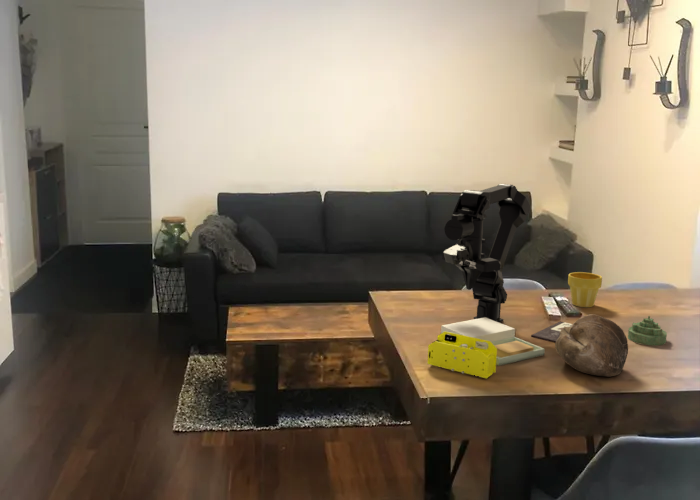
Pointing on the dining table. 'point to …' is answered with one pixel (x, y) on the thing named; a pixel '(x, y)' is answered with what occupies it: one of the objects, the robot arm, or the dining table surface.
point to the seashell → (593, 346)
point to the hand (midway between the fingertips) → (469, 289)
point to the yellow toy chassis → (463, 354)
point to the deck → (480, 329)
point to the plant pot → (584, 288)
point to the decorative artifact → (647, 333)
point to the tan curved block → (512, 348)
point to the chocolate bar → (551, 332)
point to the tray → (521, 356)
